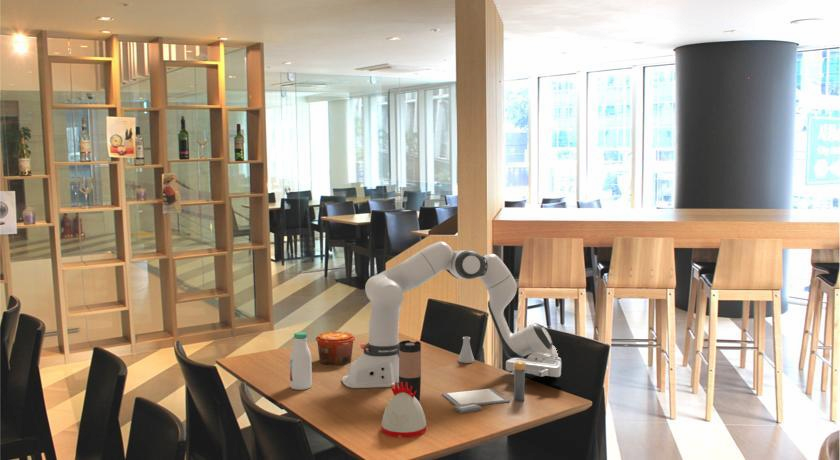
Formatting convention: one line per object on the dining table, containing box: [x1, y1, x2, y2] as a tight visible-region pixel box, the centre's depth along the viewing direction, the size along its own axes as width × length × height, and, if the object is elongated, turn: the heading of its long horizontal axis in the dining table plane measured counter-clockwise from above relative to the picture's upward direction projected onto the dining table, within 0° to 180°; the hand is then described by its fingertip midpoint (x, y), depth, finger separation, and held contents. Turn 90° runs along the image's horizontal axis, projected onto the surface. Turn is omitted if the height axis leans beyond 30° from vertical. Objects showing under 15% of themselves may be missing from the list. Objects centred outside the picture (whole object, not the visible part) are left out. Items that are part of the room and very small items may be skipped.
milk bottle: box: [289, 331, 313, 391], centre depth 278 cm, size 8×8×20 cm
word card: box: [453, 403, 483, 414], centre depth 255 cm, size 8×5×1 cm, turn 119°
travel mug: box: [398, 340, 422, 401], centre depth 264 cm, size 8×8×20 cm
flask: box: [457, 336, 476, 364], centre depth 315 cm, size 7×7×10 cm
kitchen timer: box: [380, 382, 427, 439], centre depth 236 cm, size 14×14×15 cm
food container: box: [315, 331, 356, 366], centre depth 314 cm, size 16×16×11 cm
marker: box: [513, 362, 526, 402], centre depth 265 cm, size 4×4×13 cm
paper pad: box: [441, 388, 510, 406], centre depth 267 cm, size 19×15×1 cm
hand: (527, 372), depth 275 cm, fingers open, 8 cm apart
